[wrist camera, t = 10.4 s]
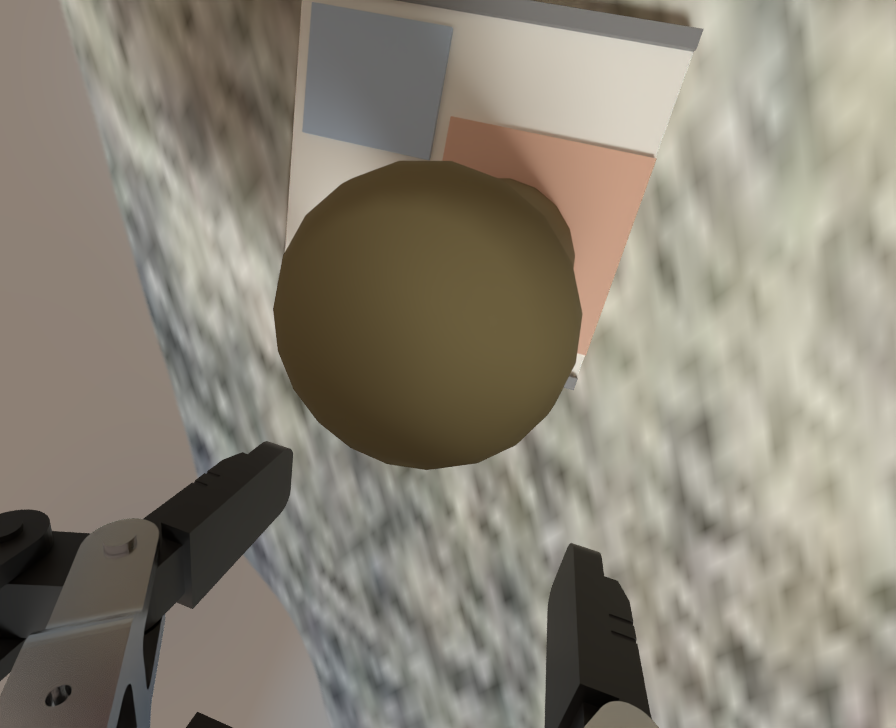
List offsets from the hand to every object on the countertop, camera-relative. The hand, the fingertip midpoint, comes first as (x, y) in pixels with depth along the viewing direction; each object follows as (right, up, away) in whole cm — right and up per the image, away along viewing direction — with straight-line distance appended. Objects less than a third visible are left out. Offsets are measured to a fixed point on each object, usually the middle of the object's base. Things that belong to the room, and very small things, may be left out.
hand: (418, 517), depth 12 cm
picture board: (+1, +11, +5) cm, 12 cm away
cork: (+3, +8, +4) cm, 10 cm away
